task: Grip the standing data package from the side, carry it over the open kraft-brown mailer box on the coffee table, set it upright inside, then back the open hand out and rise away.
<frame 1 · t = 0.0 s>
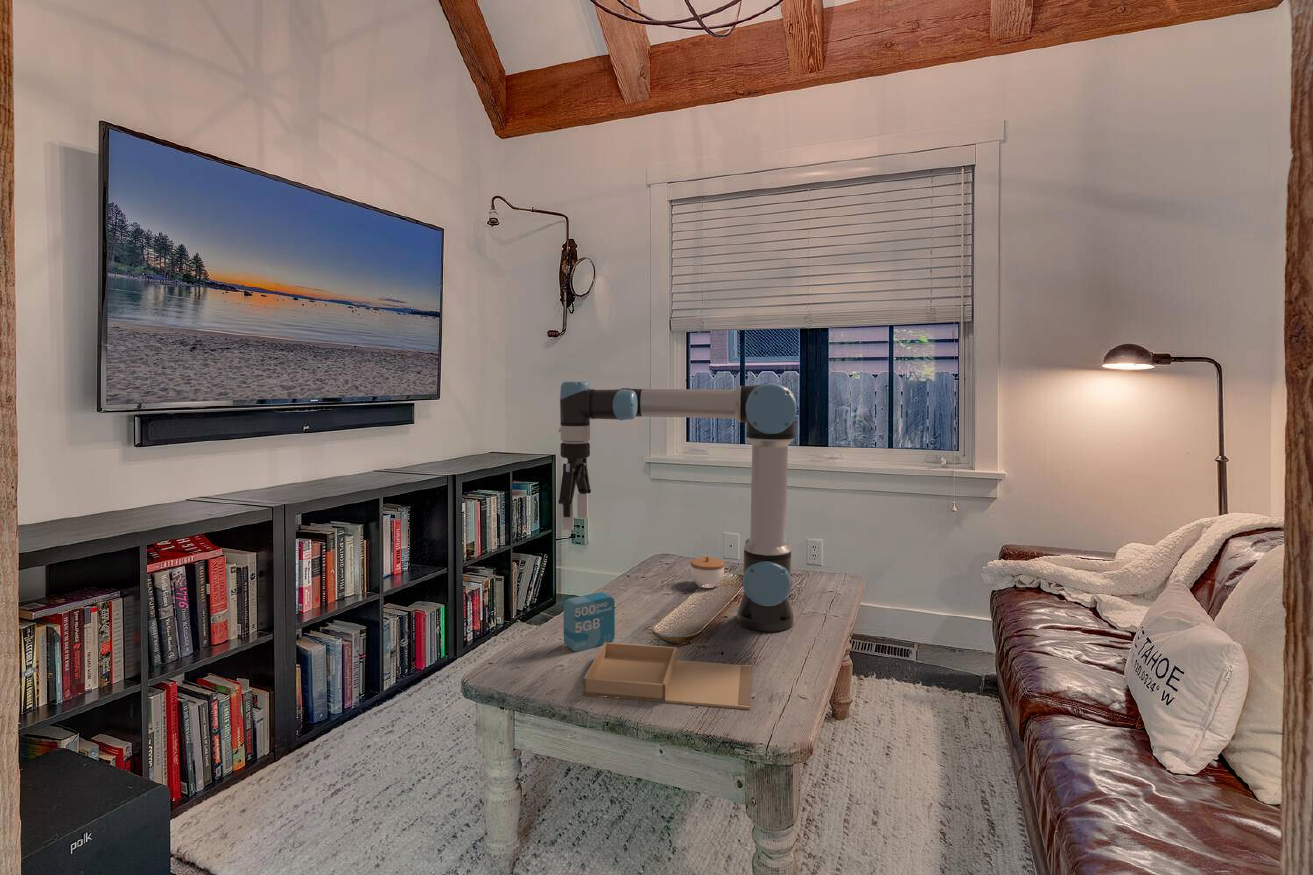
hand: (575, 523, 172), 28 cm above the table, tool pointing down, fingers open, 13 cm apart
mailer box: (632, 677, 146), on the table
lidded jar: (707, 586, 210), on the table
data package: (589, 645, 164), on the table
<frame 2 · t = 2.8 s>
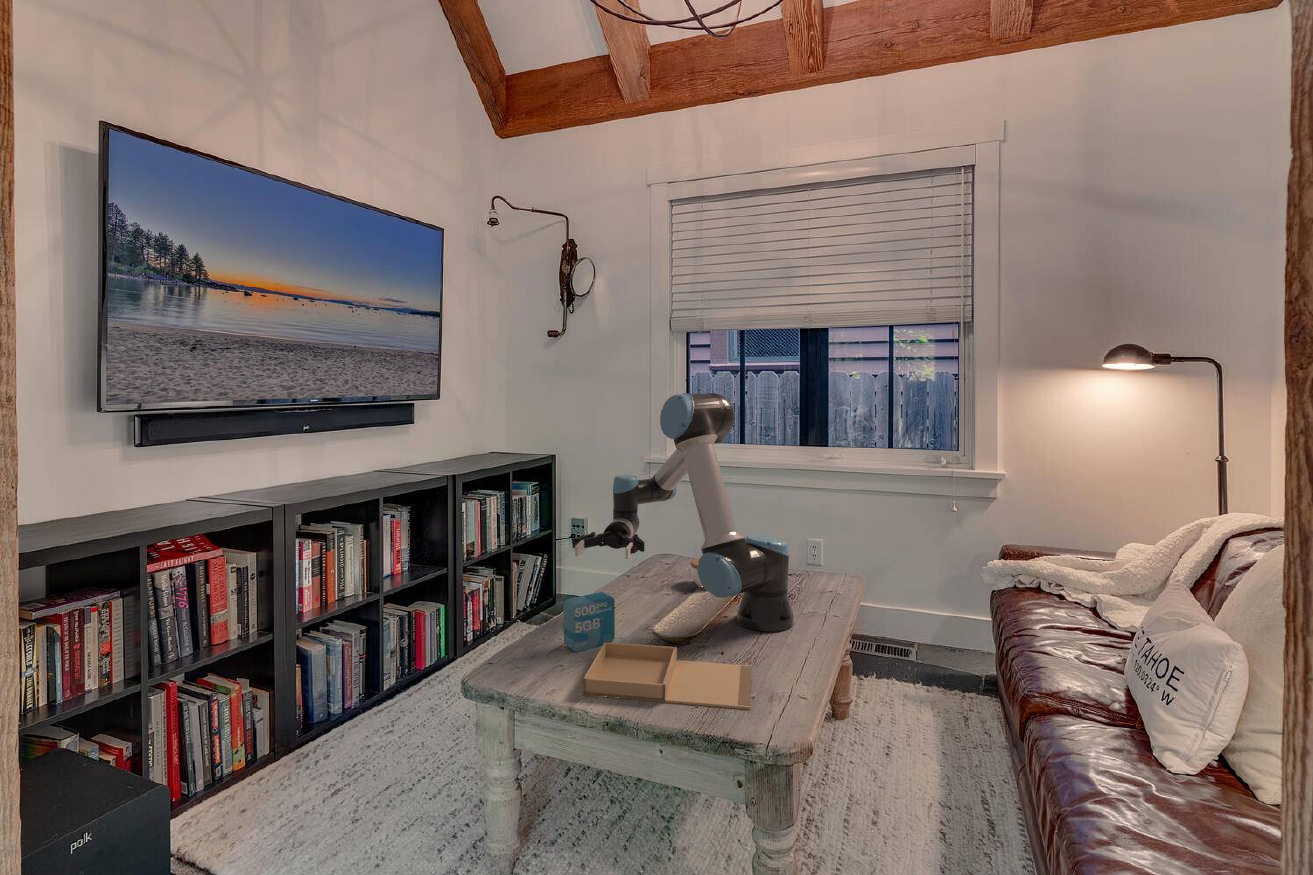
hand: (601, 552, 175), 20 cm above the table, tool horizontal, fingers open, 13 cm apart
nothing on the table moved.
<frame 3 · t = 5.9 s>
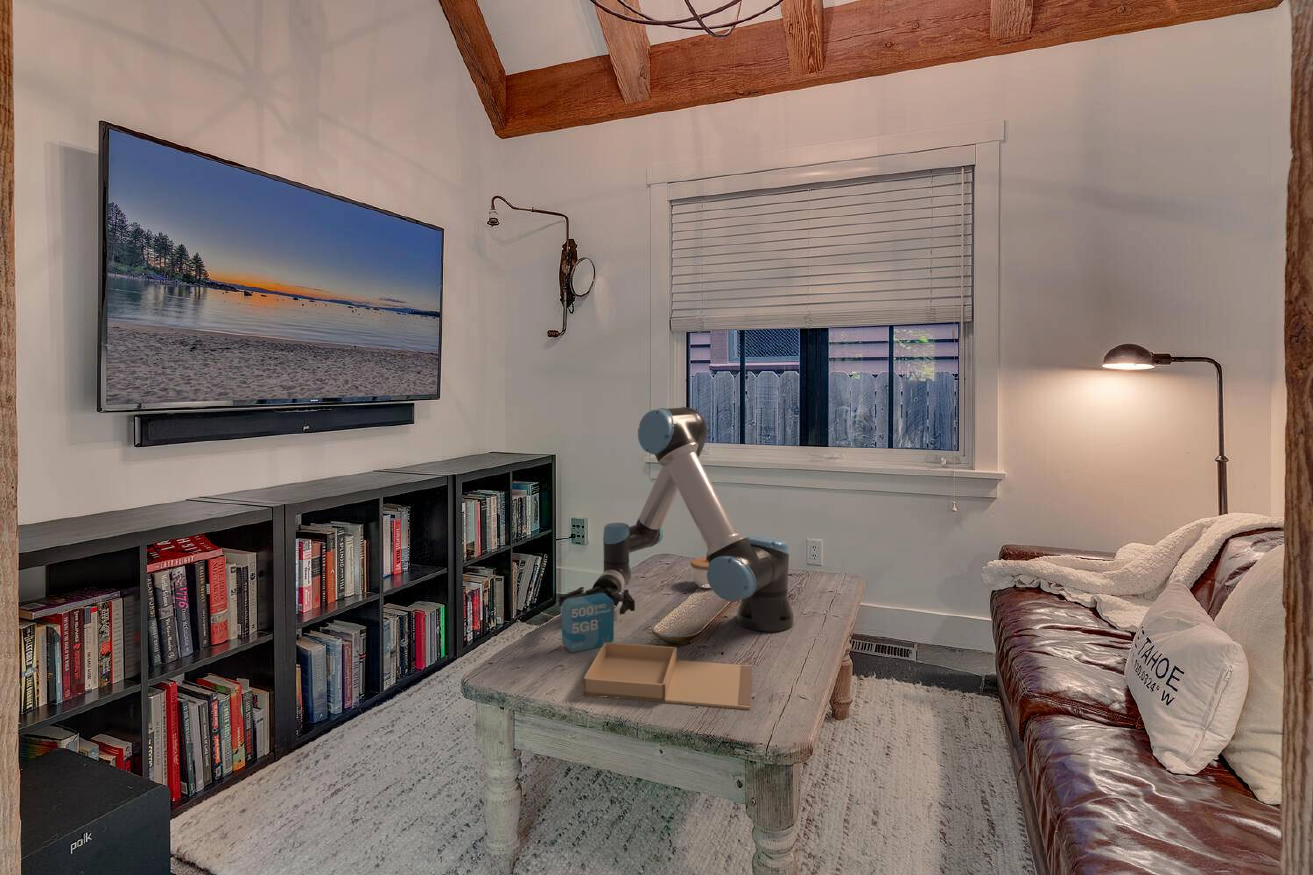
hand: (588, 614, 165), 7 cm above the table, tool horizontal, fingers open, 13 cm apart
data package: (587, 646, 163), on the table, touching gripper
everything else where it was.
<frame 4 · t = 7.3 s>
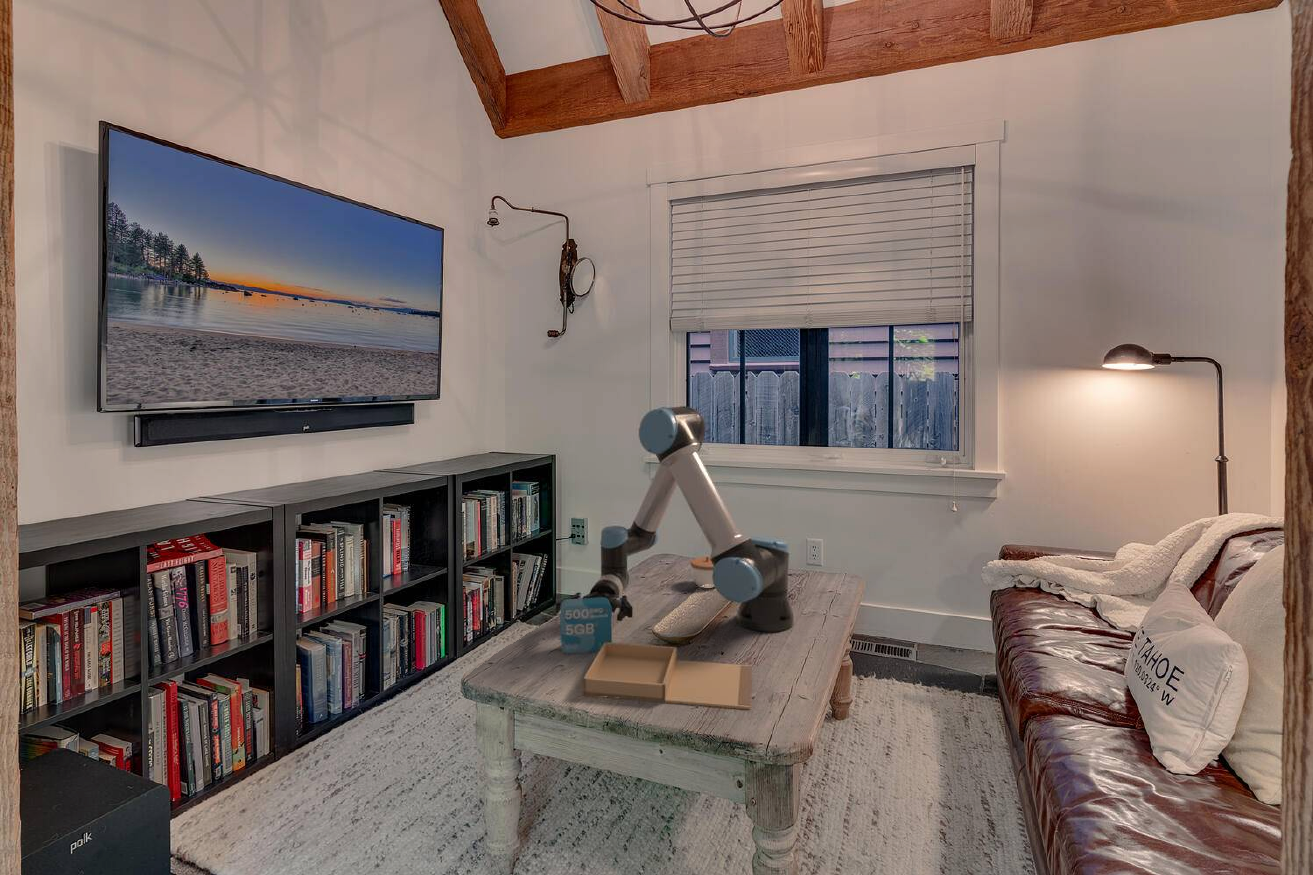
hand: (585, 621, 160), 7 cm above the table, tool horizontal, fingers closed on data package, 13 cm apart
data package: (586, 649, 161), on the table, touching gripper
everything else where it was.
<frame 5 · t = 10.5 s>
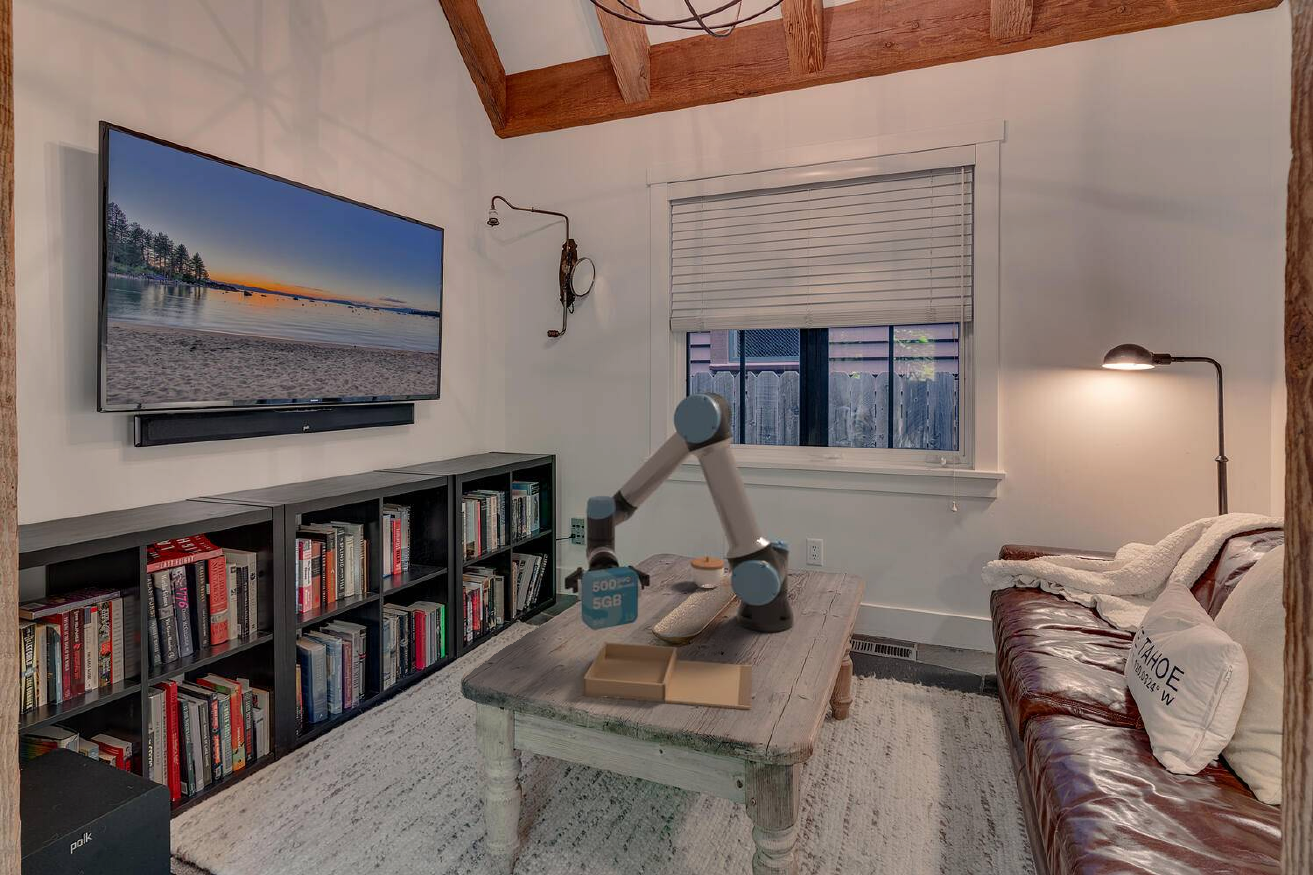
hand: (610, 592, 148), 18 cm above the table, tool horizontal, fingers closed on data package, 13 cm apart
data package: (609, 624, 149), point 11 cm above the table, touching gripper
everything else where it was.
when the fingers open (9 cm above the table, at t = 14.1 s): data package drops 1 cm, resting on mailer box.
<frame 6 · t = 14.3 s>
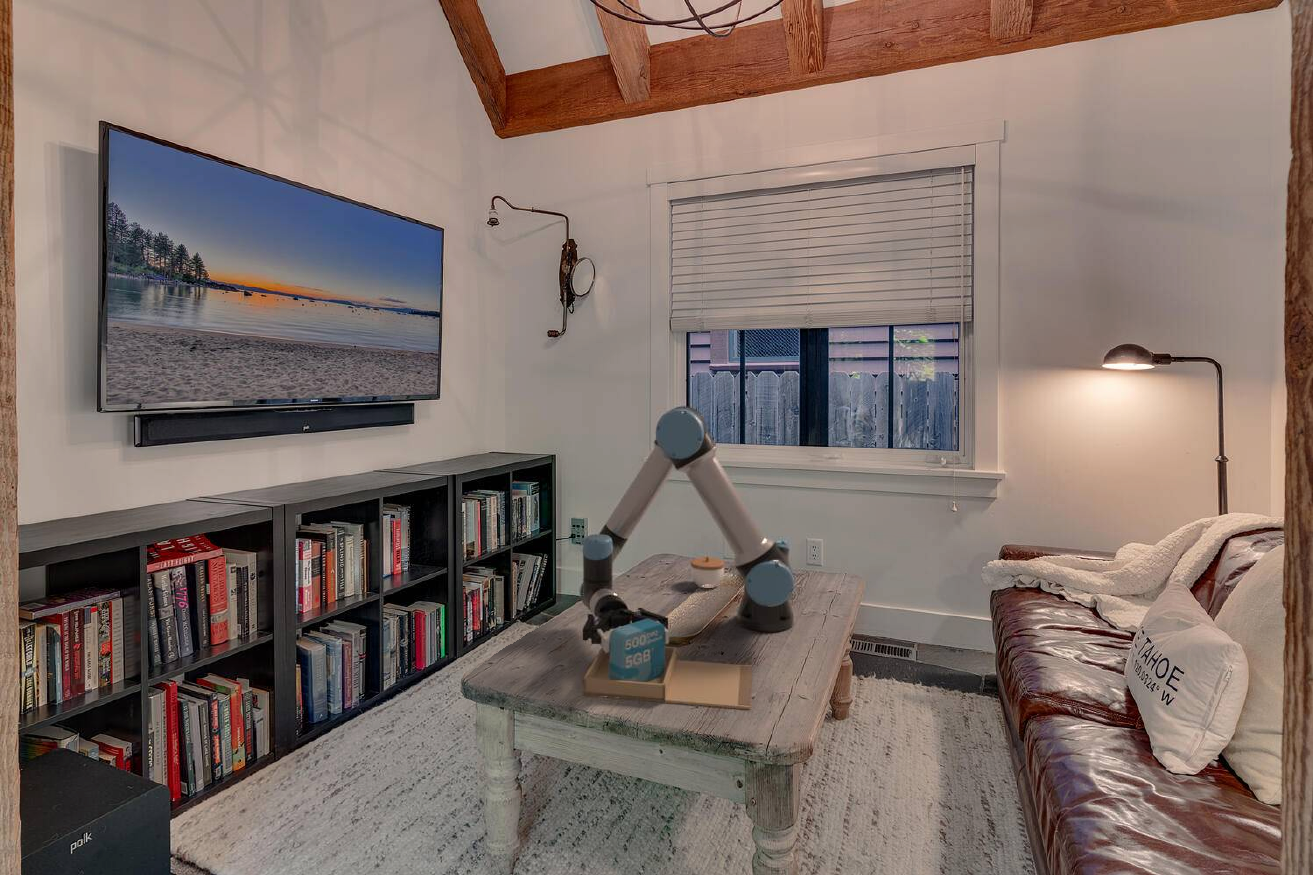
hand: (637, 641, 142), 9 cm above the table, tool horizontal, fingers open, 13 cm apart
data package: (637, 680, 144), point 1 cm above the table, touching gripper, mailer box
everything else where it was.
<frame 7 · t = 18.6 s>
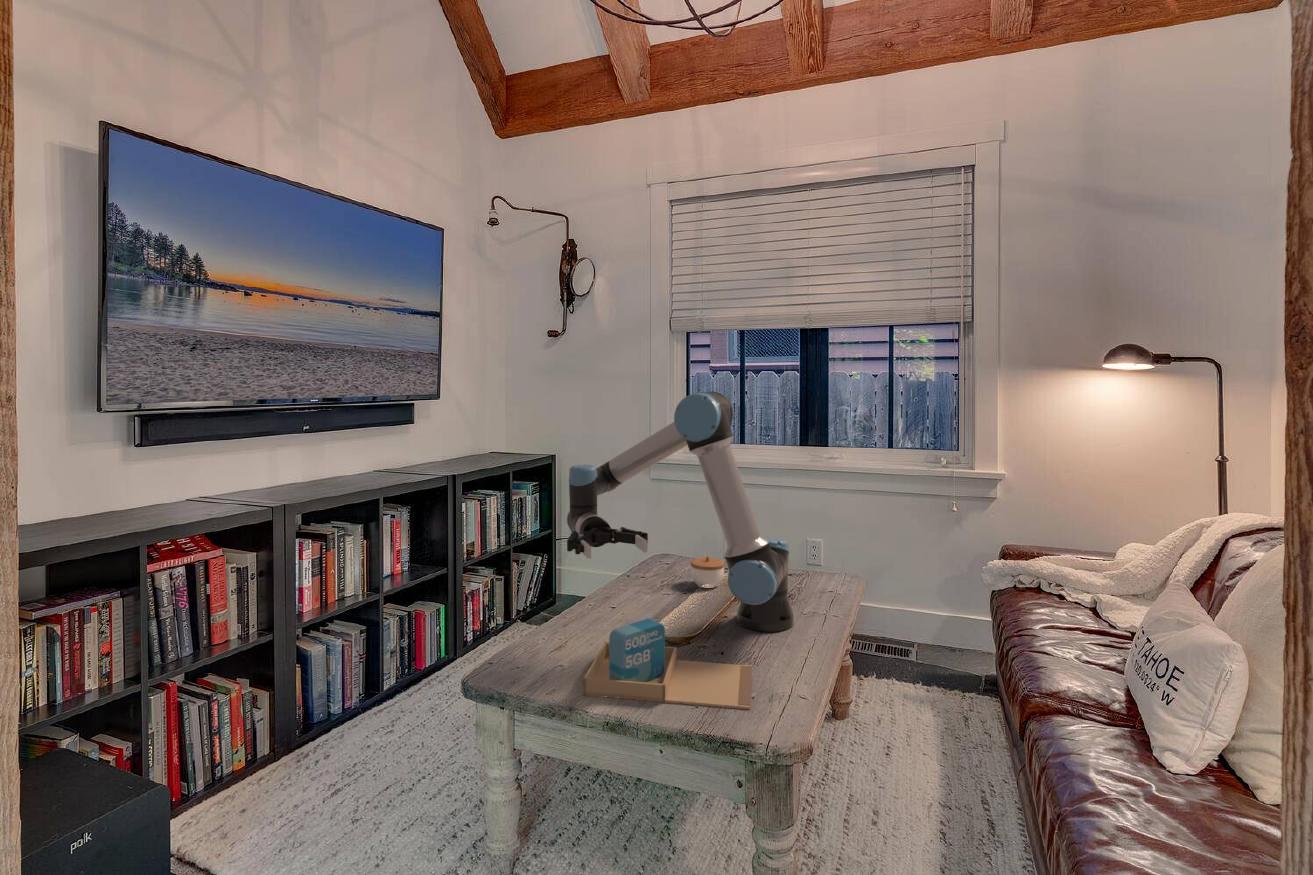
hand: (618, 549, 153), 26 cm above the table, tool horizontal, fingers open, 13 cm apart
data package: (637, 680, 144), point 1 cm above the table, touching mailer box
everything else where it was.
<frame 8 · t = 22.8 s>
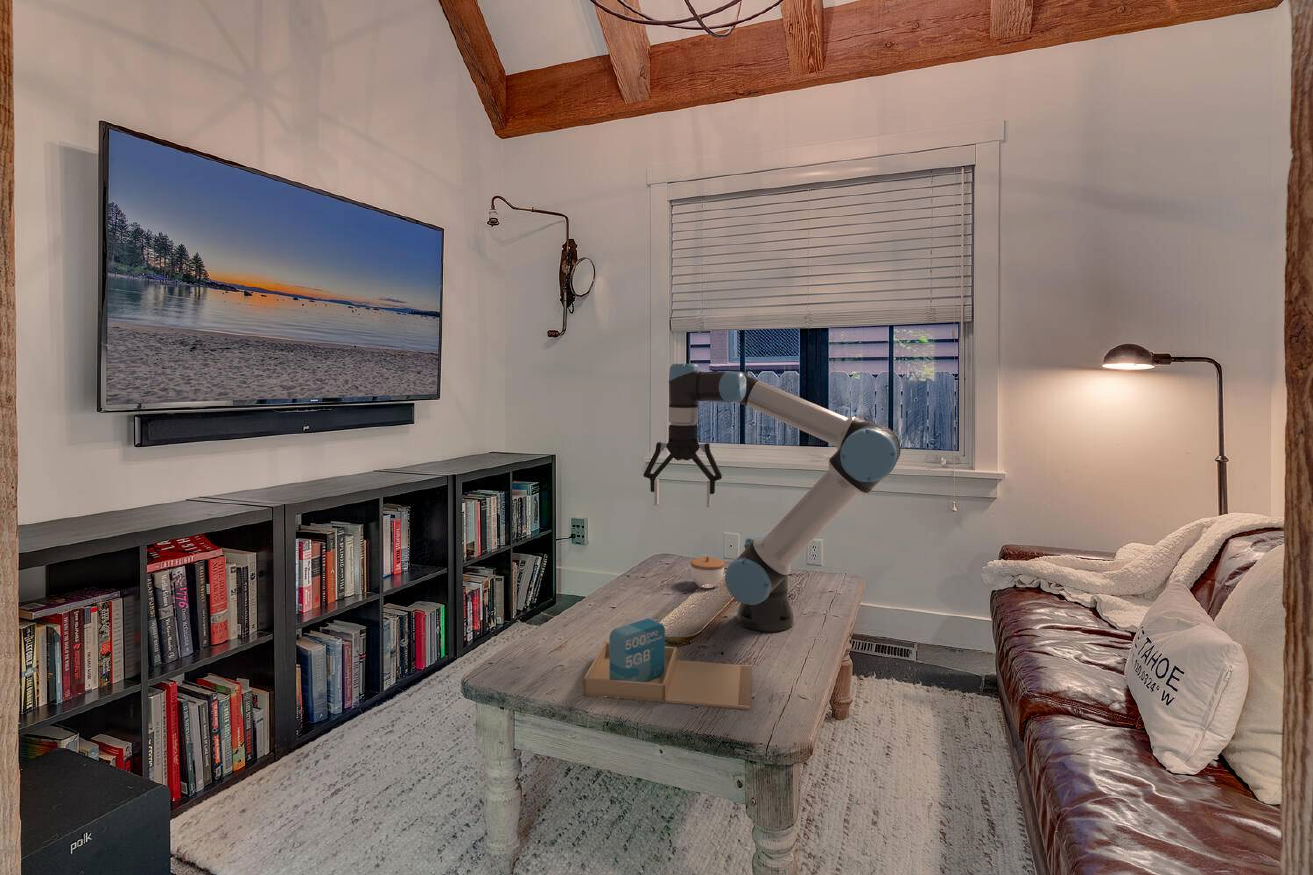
hand: (682, 505, 172), 33 cm above the table, tool pointing down, fingers open, 13 cm apart
nothing on the table moved.
at the end: data package inside the target area on the mailer box (2.7 cm from its centre), point 0.6 cm above the mailer box's base; data package tilted 0°; the gripper is holding nothing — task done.
